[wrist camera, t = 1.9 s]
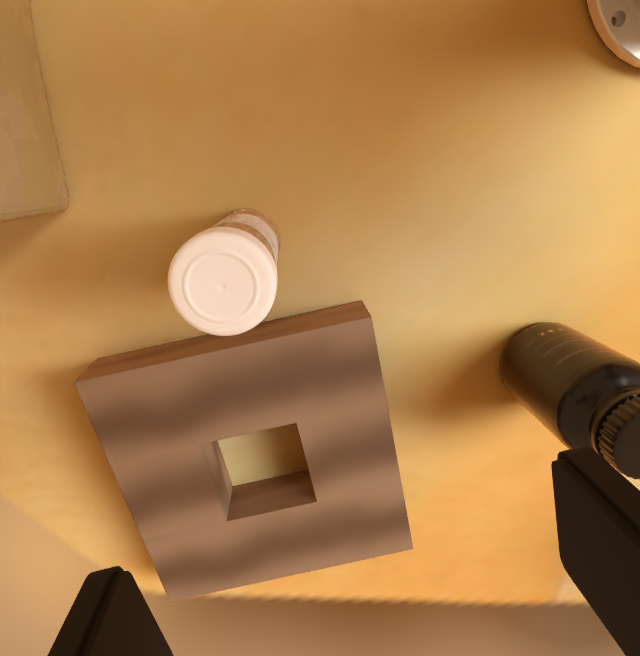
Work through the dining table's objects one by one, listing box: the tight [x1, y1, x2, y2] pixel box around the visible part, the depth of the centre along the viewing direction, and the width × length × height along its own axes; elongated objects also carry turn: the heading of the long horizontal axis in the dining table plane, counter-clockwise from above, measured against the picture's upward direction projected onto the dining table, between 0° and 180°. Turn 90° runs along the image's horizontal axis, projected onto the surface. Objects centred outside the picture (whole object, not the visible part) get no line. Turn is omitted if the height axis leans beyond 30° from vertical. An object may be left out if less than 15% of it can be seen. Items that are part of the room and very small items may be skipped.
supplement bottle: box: [500, 322, 640, 479], centre depth 30 cm, size 7×7×12 cm
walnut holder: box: [74, 301, 413, 602], centre depth 35 cm, size 20×20×4 cm
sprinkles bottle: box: [167, 209, 280, 336], centre depth 25 cm, size 5×5×13 cm
